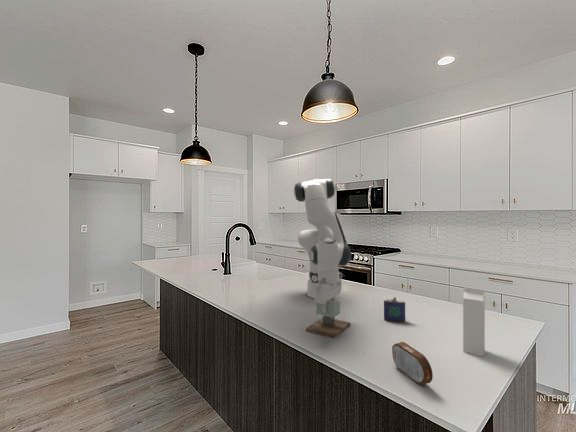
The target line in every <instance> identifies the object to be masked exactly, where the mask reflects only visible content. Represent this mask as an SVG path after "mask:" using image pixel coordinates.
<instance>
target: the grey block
mask: <svg viewBox="0 0 576 432" xmlns="http://www.w3.org/2000/svg"><path fill="white" fill-rule="evenodd" d="M322 318H323V325H325V326H329V327H333V326H334V325H335V319H336V317H329V316H324V315H322Z"/></svg>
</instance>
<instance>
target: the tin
mask: <svg viewBox="0 0 576 432" xmlns="http://www.w3.org/2000/svg"><path fill="white" fill-rule="evenodd" d="M391 352H392V353H391V354H392V359H393V362H394V364H395V367H397V369H398V370H399V371H400V372H402V373H403V374H404V375H406V376H407V377H408V378H409V379H411V380H412V381H413V382H414V383H416V384H418V385H420V386H422V385H426V384H430V383H431V382H432V381H433V377H434V374H433V369H432V366H431V363H430V362H429V360H428V358H427V357H426V356H425V355H424V354H423V353H421V352H420V351H418V349H415V348H414V347H412V346H411V345H409V344H408V343H406V342H405V341H399V342H397V343H394V344H393V345H392V348H391Z"/></svg>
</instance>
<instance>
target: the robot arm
mask: <svg viewBox="0 0 576 432" xmlns="http://www.w3.org/2000/svg"><path fill="white" fill-rule="evenodd" d="M335 193H336V185H335V182H334V181H333V179H331V178H323V179H319V178H317V179H312V180H308V181H300V182H297V183H295V184H294V188H293V195H294V198H295V200H297V201H298V202H301V203H302V202H304V203H305V204H304V205H305V212H306V218H307V222H308V223H309V225H311V226H313V227H315V228H316V229H304V230H301V231H300V232H299V234H298V235H297V241H298V244H299V245H300V247H301V248H303V249H304V250H305V251H306V253H307V256H308V259H309V272H308V275H309V278H308V280H307V286H306V290H305V294H306V295H307V297H309V298H313V299H314V303H315V304H316V305H317V304H321V307H322V312H327V307H326V304H327V301H329V300H333V301H336V298H337V296H339V295H340V294H341V292H342V278H343V273H342V272H340V271H339V266H340V267H345V266H347V265H348V264H350V262H351V260H352V255H353V254H352V251H351V248H350V246H349V243H348V242H347V239H346V237H345V234H344V230H343V227H342V225H341V221H340V219H339V216H338V215H337V214H336V212H334V211H332V209H331V208H330V205H329V202H328V199H331V198H333V197H334V196H335Z"/></svg>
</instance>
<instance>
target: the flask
mask: <svg viewBox="0 0 576 432" xmlns="http://www.w3.org/2000/svg"><path fill="white" fill-rule="evenodd" d="M383 319H384V321H385V322H394V323H405V322H406V320H407V319H406V301H405V300H397V297H396V296H394V297H393V298H392V299H389V298H387V299H384V300H383Z"/></svg>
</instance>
